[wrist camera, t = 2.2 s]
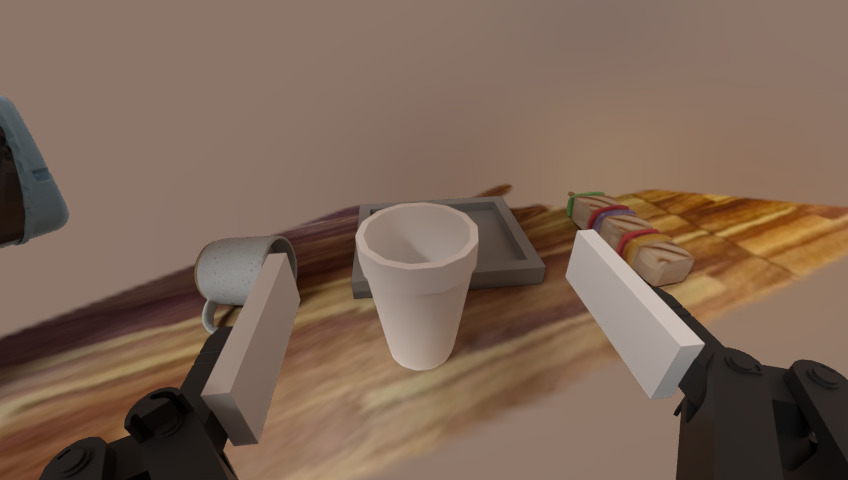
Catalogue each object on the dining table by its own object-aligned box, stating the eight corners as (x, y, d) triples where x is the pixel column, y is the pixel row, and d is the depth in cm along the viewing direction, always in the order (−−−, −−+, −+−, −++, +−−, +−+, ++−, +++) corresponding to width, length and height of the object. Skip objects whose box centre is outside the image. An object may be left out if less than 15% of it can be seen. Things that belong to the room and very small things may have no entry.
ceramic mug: (239, 274, 43) (217, 222, 39) (303, 275, 43) (288, 223, 38) (187, 343, 34) (150, 286, 30) (266, 346, 34) (241, 288, 30)
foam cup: (353, 343, 34) (331, 232, 27) (419, 295, 39) (416, 192, 32) (422, 407, 28) (418, 289, 21) (488, 341, 34) (503, 229, 26)
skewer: (690, 285, 40) (710, 250, 37) (643, 294, 39) (659, 259, 36) (584, 204, 57) (592, 176, 54) (549, 208, 56) (555, 180, 53)
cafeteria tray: (354, 298, 39) (351, 282, 38) (362, 218, 54) (360, 204, 52) (542, 283, 41) (546, 267, 39) (499, 210, 55) (501, 196, 54)
